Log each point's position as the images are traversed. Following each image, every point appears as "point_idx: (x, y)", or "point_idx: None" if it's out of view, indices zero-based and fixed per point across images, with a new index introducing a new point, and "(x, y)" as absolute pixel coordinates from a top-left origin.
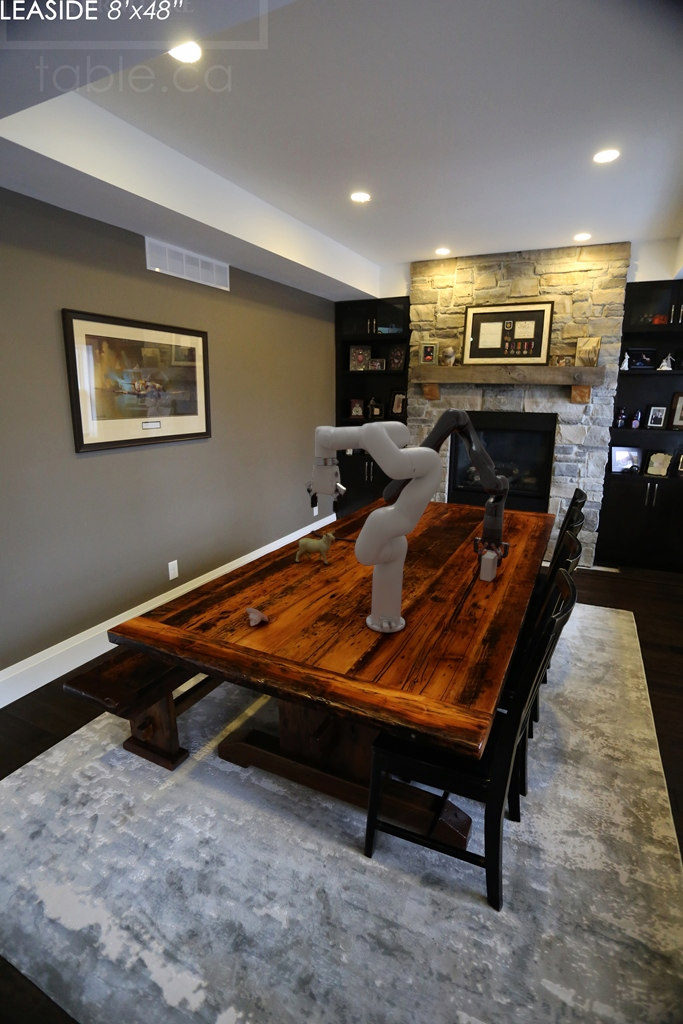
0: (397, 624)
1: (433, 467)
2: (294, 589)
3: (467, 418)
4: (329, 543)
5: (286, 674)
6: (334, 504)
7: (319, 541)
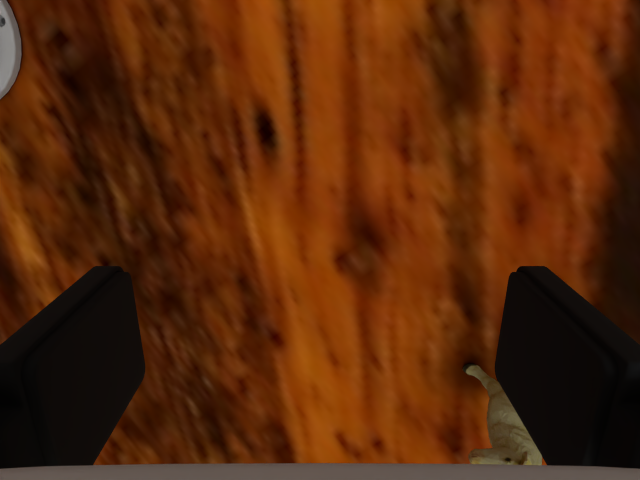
0: None
1: None
2: (435, 86)
3: None
4: (492, 437)
5: None
6: (29, 329)
7: None
